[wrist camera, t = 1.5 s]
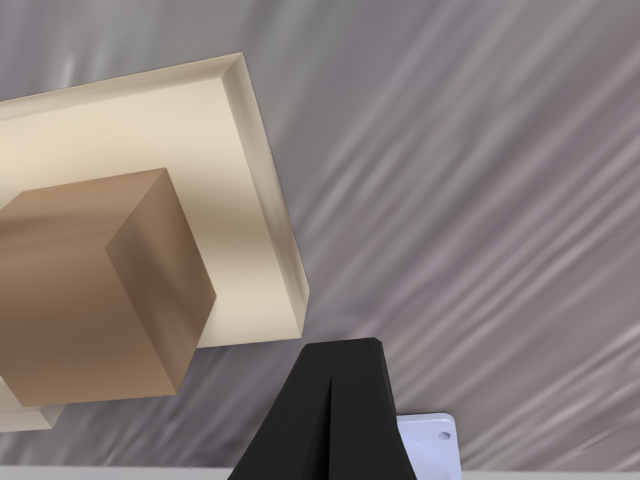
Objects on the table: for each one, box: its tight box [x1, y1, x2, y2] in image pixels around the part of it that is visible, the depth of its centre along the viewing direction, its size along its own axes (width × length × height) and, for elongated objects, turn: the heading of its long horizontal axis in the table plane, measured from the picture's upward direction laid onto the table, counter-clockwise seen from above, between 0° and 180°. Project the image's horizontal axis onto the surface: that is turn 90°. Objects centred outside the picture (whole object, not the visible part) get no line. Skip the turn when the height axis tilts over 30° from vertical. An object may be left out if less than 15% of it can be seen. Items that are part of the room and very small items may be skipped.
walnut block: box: [0, 167, 217, 407], centre depth 15 cm, size 4×4×4 cm
